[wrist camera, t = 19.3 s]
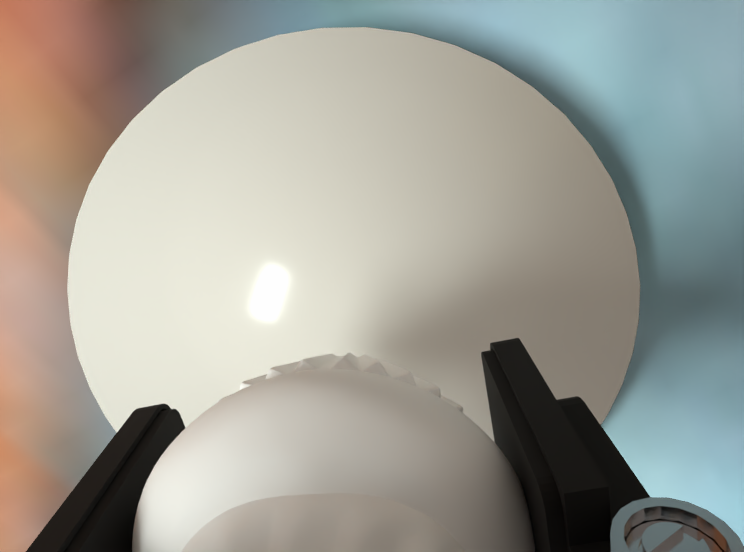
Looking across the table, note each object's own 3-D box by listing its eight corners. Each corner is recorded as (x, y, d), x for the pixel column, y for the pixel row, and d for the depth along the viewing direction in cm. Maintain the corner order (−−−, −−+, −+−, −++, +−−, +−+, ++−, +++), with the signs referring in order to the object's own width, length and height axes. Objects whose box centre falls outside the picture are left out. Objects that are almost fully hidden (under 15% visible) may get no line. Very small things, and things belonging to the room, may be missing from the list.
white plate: (630, 484, 17) (648, 511, 16) (191, 553, 19) (179, 583, 17) (604, -35, 12) (628, -48, 11) (-4, 109, 13) (-38, 110, 12)
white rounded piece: (183, 297, 10) (-169, 659, 4) (485, 276, 10) (695, 622, 3) (234, 531, 12) (68, 1034, 6) (486, 517, 12) (617, 1024, 5)
